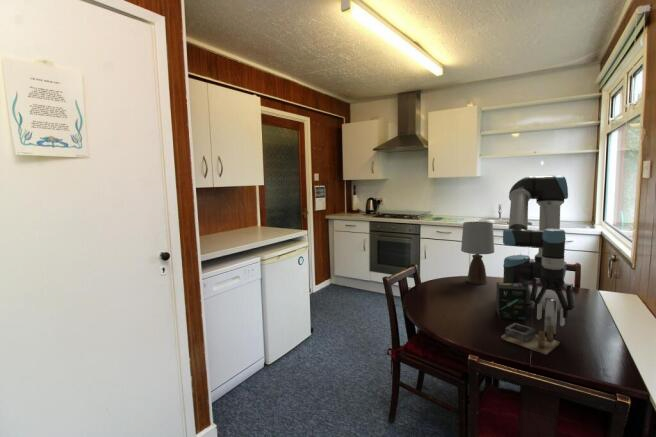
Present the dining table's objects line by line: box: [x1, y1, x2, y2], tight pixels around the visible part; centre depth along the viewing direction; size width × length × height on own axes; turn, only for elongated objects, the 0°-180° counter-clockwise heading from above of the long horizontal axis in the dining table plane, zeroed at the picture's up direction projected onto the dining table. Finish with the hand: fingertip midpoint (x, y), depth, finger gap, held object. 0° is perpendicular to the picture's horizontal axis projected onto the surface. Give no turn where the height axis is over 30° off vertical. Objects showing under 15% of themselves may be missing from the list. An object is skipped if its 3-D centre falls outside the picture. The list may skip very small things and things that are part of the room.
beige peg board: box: [500, 322, 560, 355], centre depth 127 cm, size 16×12×7 cm
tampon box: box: [495, 282, 527, 322], centre depth 150 cm, size 11×9×15 cm
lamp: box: [460, 221, 495, 285], centre depth 201 cm, size 19×19×37 cm
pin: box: [543, 297, 558, 336], centre depth 133 cm, size 4×4×14 cm
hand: (550, 321), depth 133 cm, fingers open, 8 cm apart
